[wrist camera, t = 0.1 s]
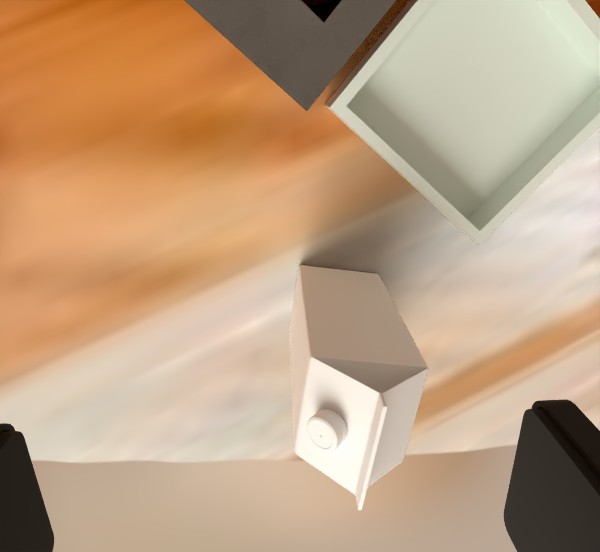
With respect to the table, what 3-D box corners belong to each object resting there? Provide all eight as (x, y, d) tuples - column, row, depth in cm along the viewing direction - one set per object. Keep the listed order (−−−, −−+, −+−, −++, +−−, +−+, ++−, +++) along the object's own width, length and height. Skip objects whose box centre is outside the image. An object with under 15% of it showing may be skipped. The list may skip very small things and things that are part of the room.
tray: (476, -82, 32) (502, -104, 28) (609, 80, 36) (647, 79, 32) (324, 105, 36) (329, 107, 32) (460, 230, 40) (478, 245, 36)
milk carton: (378, 272, 41) (453, 412, 24) (363, 342, 44) (421, 514, 26) (298, 263, 41) (315, 400, 23) (288, 334, 43) (295, 506, 26)
